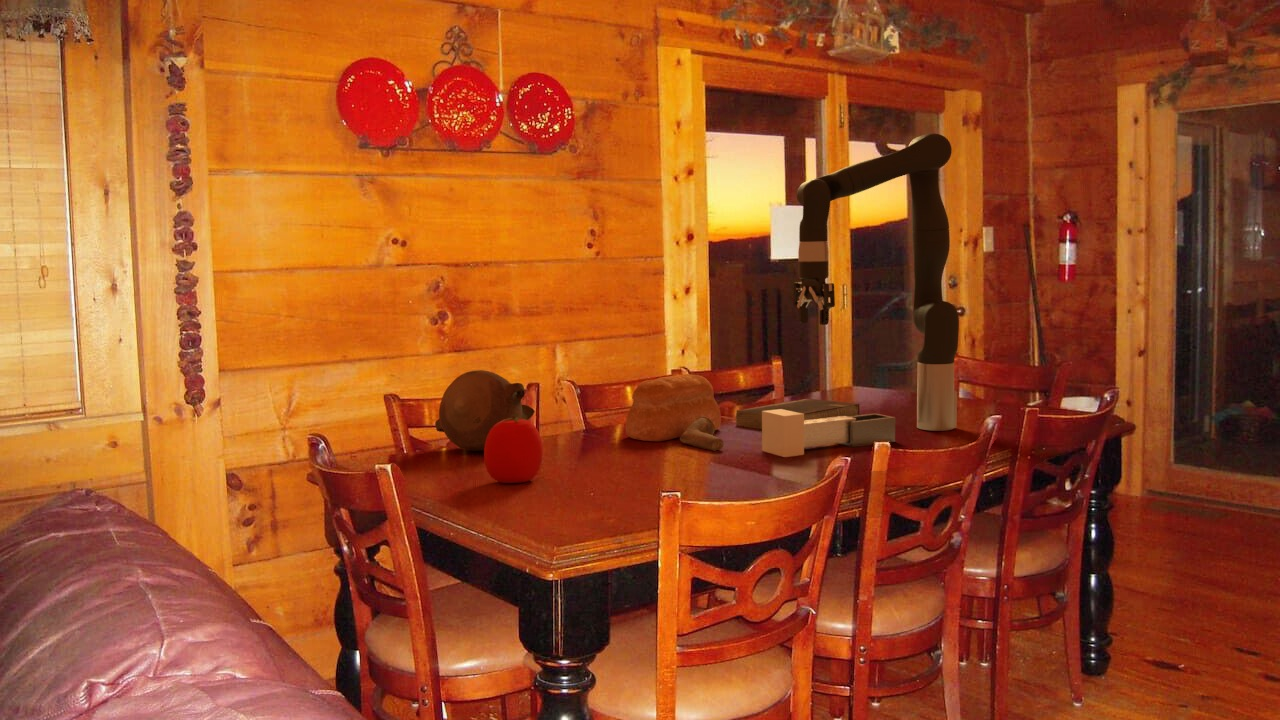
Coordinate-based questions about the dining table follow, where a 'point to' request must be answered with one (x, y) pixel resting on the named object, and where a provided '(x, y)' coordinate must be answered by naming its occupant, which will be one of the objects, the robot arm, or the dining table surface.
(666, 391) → the bread
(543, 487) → the dining table surface
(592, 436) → the dining table surface
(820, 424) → the beige rectangular block
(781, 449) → the tan block
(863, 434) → the sleeve
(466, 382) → the jug
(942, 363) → the robot arm
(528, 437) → the tomato
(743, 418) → the grey shallow rectangular piece
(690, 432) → the pipe
